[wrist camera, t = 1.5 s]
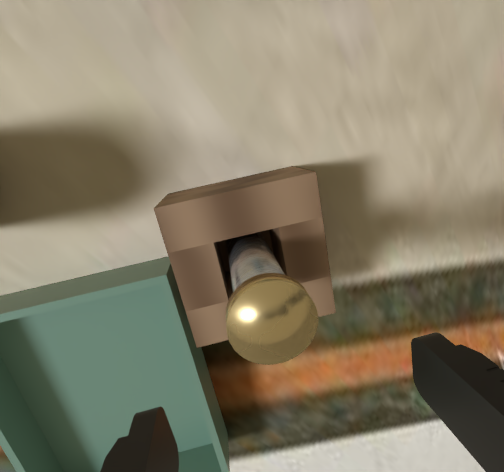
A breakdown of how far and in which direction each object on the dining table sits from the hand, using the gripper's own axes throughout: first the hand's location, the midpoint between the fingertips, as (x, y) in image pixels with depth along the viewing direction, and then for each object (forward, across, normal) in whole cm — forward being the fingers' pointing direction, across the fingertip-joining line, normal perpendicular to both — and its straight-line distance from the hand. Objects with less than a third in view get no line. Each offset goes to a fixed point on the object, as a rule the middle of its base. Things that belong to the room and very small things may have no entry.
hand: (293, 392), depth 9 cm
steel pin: (+16, 0, 0) cm, 16 cm away
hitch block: (+17, 0, 0) cm, 17 cm away
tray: (+17, +14, +10) cm, 24 cm away
